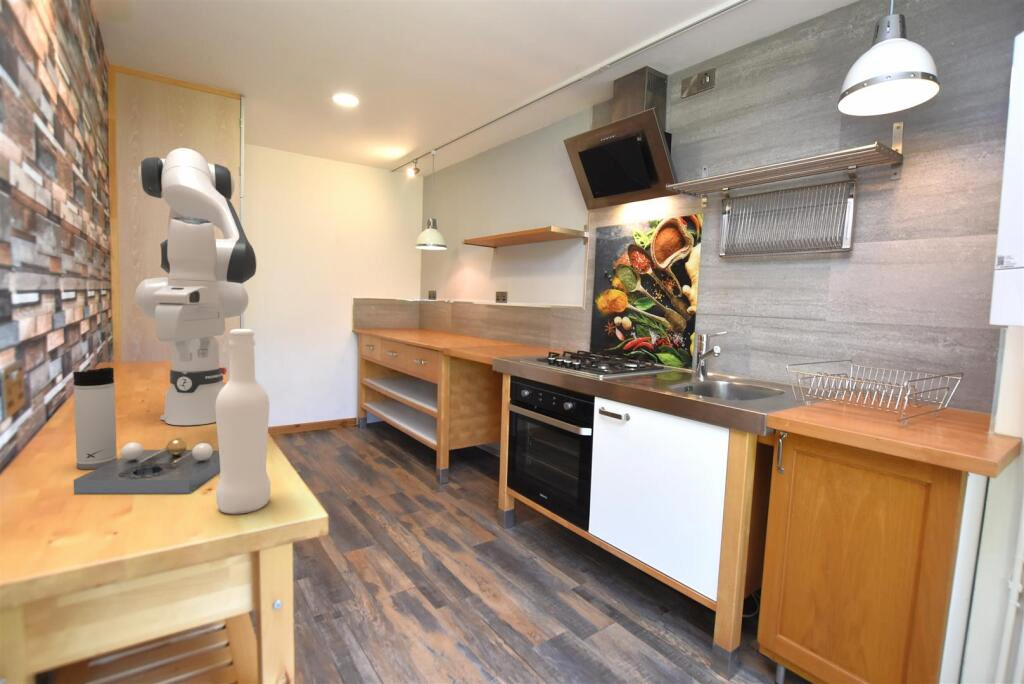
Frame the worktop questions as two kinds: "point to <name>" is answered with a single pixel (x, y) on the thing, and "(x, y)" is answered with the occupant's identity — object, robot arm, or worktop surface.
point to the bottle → (242, 432)
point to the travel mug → (95, 418)
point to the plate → (150, 474)
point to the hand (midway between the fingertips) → (194, 359)
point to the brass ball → (176, 447)
